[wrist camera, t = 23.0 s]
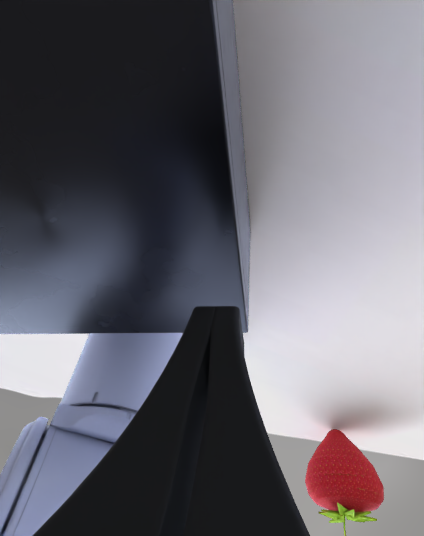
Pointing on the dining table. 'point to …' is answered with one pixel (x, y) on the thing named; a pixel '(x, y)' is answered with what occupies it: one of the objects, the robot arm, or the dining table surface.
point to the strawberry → (343, 480)
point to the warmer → (120, 166)
